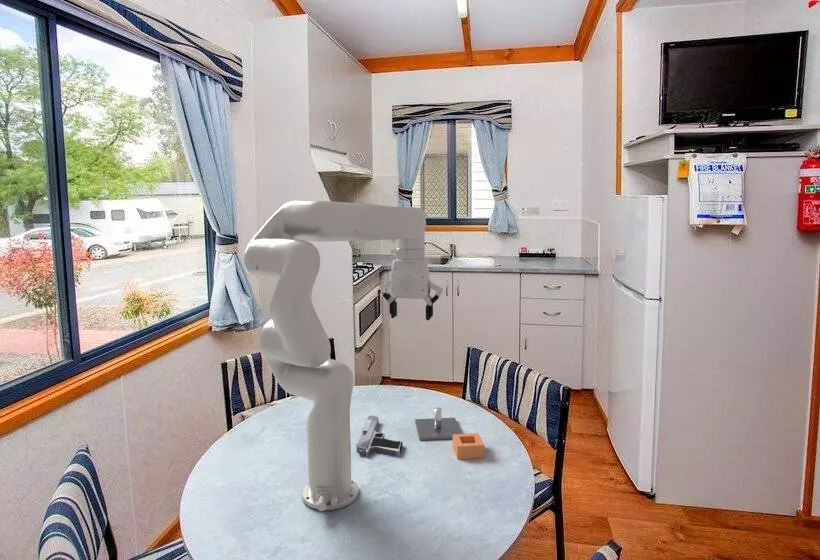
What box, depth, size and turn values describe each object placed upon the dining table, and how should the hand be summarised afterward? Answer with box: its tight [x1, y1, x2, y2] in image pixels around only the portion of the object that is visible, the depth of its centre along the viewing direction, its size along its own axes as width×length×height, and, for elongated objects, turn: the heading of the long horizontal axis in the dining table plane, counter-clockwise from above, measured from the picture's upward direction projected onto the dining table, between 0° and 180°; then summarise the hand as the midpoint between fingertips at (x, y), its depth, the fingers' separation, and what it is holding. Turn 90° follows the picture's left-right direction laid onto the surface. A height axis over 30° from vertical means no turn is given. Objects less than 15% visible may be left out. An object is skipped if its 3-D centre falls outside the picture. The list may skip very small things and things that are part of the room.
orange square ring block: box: [452, 432, 485, 460], centre depth 140 cm, size 7×7×4 cm
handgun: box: [356, 415, 403, 459], centre depth 148 cm, size 2×22×12 cm
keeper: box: [414, 406, 463, 441], centre depth 153 cm, size 12×12×6 cm
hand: (411, 318), depth 142 cm, fingers open, 9 cm apart
